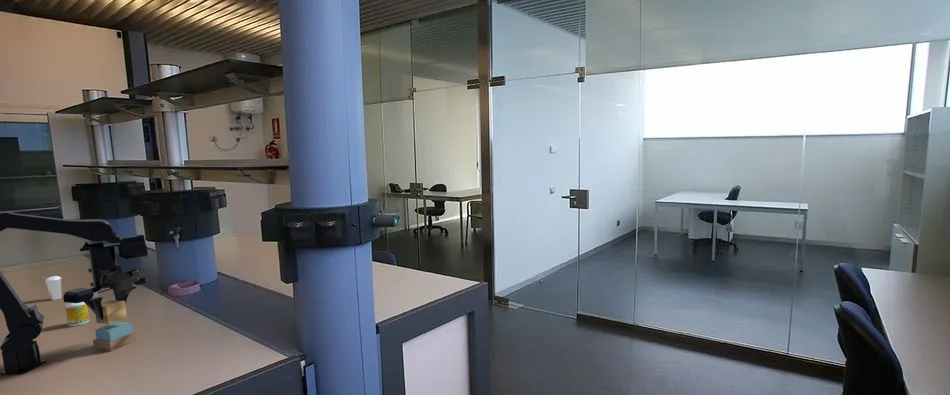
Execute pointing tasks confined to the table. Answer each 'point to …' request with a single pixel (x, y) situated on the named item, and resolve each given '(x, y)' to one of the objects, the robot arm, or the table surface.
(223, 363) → the table surface
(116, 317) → the oak cube
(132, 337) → the tower base block
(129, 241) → the robot arm
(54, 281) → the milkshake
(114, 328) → the tower top block
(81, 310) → the supplement bottle
